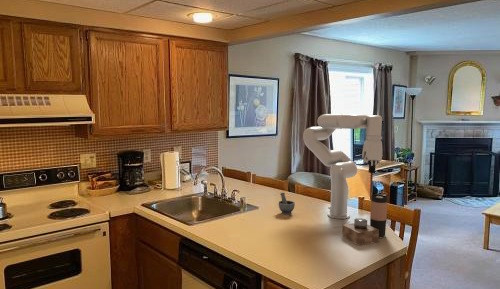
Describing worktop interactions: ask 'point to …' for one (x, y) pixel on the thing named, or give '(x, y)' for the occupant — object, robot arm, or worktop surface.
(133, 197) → the worktop surface
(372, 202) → the travel mug
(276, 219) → the worktop surface
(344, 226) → the block
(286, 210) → the mortar and pestle
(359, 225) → the peg
